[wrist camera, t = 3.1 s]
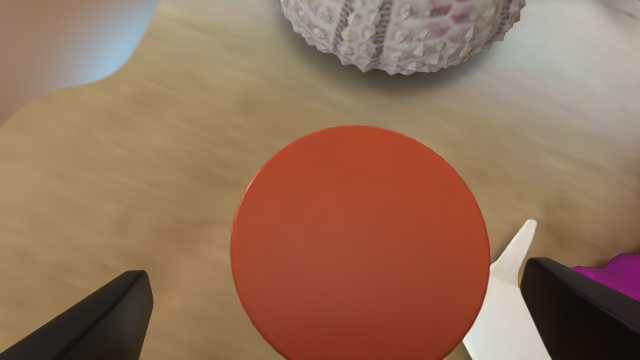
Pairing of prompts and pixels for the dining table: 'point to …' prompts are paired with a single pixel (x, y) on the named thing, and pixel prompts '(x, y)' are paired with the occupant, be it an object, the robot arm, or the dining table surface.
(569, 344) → the robot arm
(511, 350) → the spray bottle
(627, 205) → the dining table surface
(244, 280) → the white and orange cylinder
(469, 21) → the sea urchin shell
